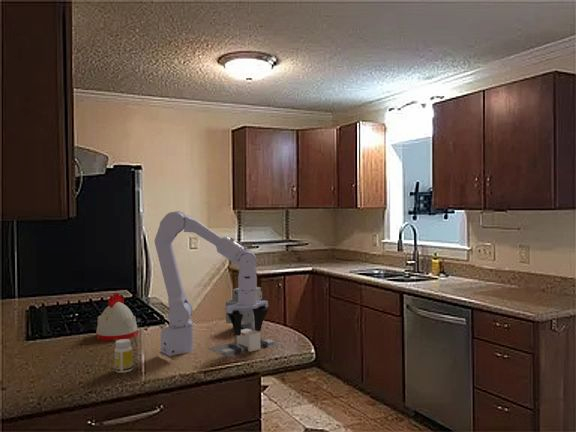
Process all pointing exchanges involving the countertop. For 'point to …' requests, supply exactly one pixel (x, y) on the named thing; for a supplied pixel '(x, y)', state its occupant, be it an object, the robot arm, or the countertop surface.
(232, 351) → the rail board
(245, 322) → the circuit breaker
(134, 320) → the kitchen timer
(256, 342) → the block
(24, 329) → the countertop surface
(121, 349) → the supplement bottle
